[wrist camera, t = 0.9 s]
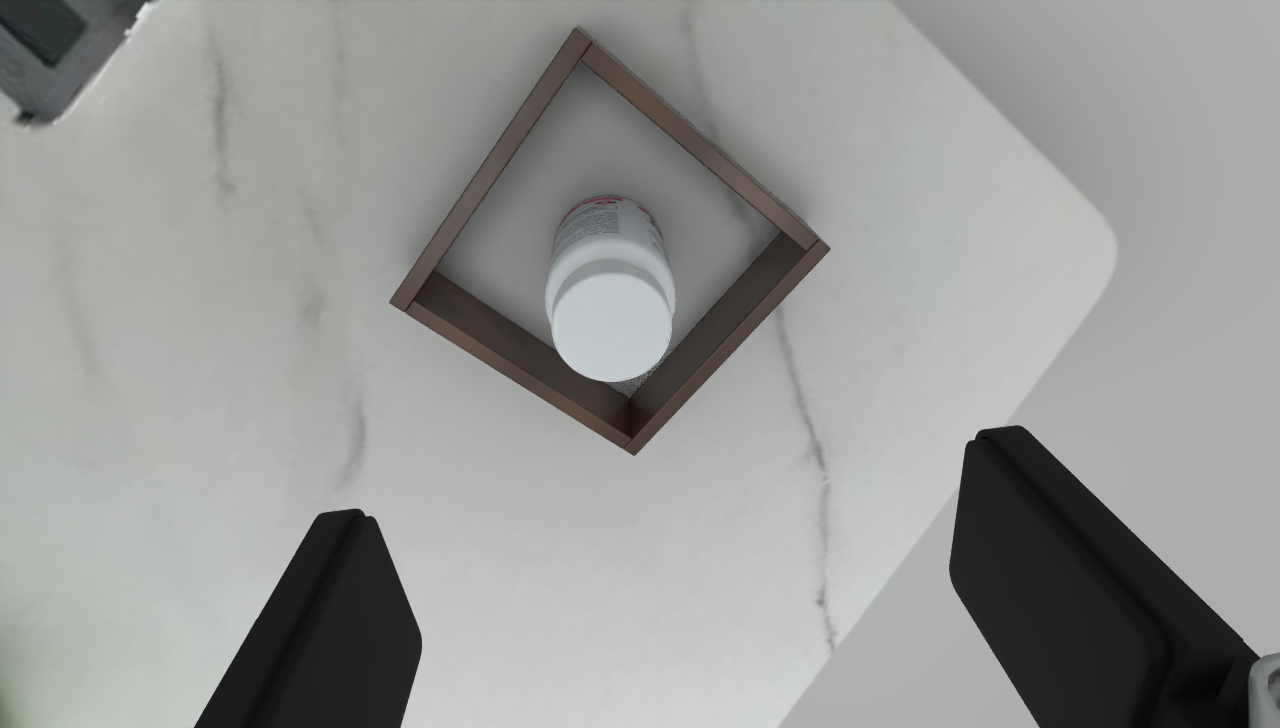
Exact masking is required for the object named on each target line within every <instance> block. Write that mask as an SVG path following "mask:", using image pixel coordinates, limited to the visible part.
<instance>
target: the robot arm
mask: <svg viewBox="0 0 1280 728" xmlns="http://www.w3.org/2000/svg"><path fill="white" fill-rule="evenodd" d="M949 572H950V578H951V581H952V584H953V587H954V589H955V591H956V593H957V594H958V596H959V597H960V599H961V601H962V602H963V604H964V606H965V607H966V609H967V610H968V612H969V614H970V615H971V617H972V618H973V620H974V622H975V623H976V625H977V627H978V628H979V630H980V632H981V633H982V635H983V636H984V638H985V639H986V641H987V643H988V644H989V646H990V648H991V649H992V651H993V653H994V654H995V656H996V657H997V659H998V661H999V662H1000V664H1001V666H1002V667H1003V669H1004V671H1005V672H1006V674H1007V675H1008V677H1009V679H1010V680H1011V682H1012V683H1013V685H1014V687H1015V688H1016V690H1017V692H1018V693H1019V695H1020V696H1021V698H1022V700H1023V701H1024V703H1025V705H1026V706H1027V708H1028V709H1029V711H1030V713H1031V714H1032V716H1033V718H1034V719H1035V721H1036V722H1037V724H1038V726H1039V727H1040V728H1280V653H1276V654H1271V655H1266V656H1263V657H1262V658H1260V657H1259V656H1258V655H1257V654H1256V653H1255V652H1254V651H1253V650H1252V649H1250V647H1249V646H1248V645H1246V643H1244V642H1243V639H1242V638H1241V637H1240V636H1239V635H1238V634H1237V633H1236V632H1235V631H1234V630H1233V629H1232V628H1231V627H1230V626H1229V625H1228V624H1227V623H1226V622H1225V621H1223V619H1222V618H1221V617H1220V616H1218V614H1217V613H1215V612H1214V611H1213V610H1212V609H1211V608H1210V607H1209V606H1208V605H1207V604H1206V603H1205V602H1204V601H1203V600H1202V599H1201V598H1200V597H1199V596H1198V595H1197V594H1196V593H1195V592H1194V591H1193V590H1192V589H1191V588H1190V587H1189V586H1188V585H1187V584H1185V583H1184V582H1183V581H1182V580H1181V579H1180V578H1179V577H1178V576H1177V575H1176V574H1175V573H1174V572H1173V571H1172V570H1171V569H1170V568H1169V567H1168V566H1167V565H1166V564H1165V563H1164V562H1163V561H1162V560H1161V559H1160V558H1159V557H1158V556H1156V555H1155V554H1154V552H1152V551H1151V550H1150V549H1149V548H1148V547H1147V546H1146V545H1145V544H1144V543H1143V542H1142V541H1141V540H1140V539H1139V538H1138V537H1137V536H1136V535H1135V534H1134V533H1133V532H1131V530H1130V529H1128V527H1127V526H1126V525H1125V524H1124V523H1123V522H1121V521H1120V520H1119V519H1118V518H1117V517H1116V516H1115V515H1114V514H1113V513H1112V512H1111V511H1110V510H1109V509H1108V508H1107V507H1106V506H1105V505H1104V504H1103V503H1102V502H1101V501H1100V500H1099V499H1098V498H1097V497H1096V496H1095V495H1094V494H1092V493H1091V491H1089V490H1088V489H1087V488H1086V487H1085V486H1084V485H1083V484H1082V483H1081V482H1080V481H1079V480H1078V479H1077V478H1076V477H1075V476H1074V475H1073V474H1072V473H1071V472H1070V471H1069V470H1068V469H1067V468H1066V467H1065V466H1064V465H1063V464H1061V463H1060V461H1058V460H1057V459H1056V458H1055V457H1054V456H1053V455H1052V454H1051V453H1050V452H1049V451H1048V450H1047V449H1046V448H1045V447H1044V446H1043V445H1042V444H1041V443H1040V442H1039V441H1038V440H1037V439H1036V438H1035V437H1034V436H1033V435H1032V434H1031V433H1029V431H1028V430H1026V429H1025V428H1024V427H1022V426H1018V425H1016V426H1007V427H999V428H992V429H984V430H981V431H979V432H978V433H977V435H976V438H975V440H971V441H969V442H968V443H967V444H966V448H965V454H964V461H963V469H962V476H961V483H960V491H959V498H958V506H957V513H956V521H955V528H954V535H953V543H952V550H951V558H950V564H949ZM421 652H422V638H421V633H420V630H419V627H418V625H417V622H416V620H415V617H414V615H413V612H412V609H411V607H410V604H409V602H408V599H407V597H406V594H405V592H404V589H403V587H402V584H401V582H400V579H399V576H398V574H397V571H396V569H395V566H394V564H393V561H392V559H391V556H390V554H389V551H388V549H387V546H386V544H385V541H384V538H383V536H382V533H381V531H380V528H379V526H378V523H377V521H376V519H375V518H374V517H372V516H367V517H366V516H365V514H364V512H362V511H361V510H360V509H348V510H340V511H332V512H325V513H321V514H319V515H318V516H317V517H316V519H315V520H314V522H313V524H312V525H311V527H310V529H309V530H308V532H307V534H306V536H305V537H304V539H303V541H302V543H301V544H300V546H299V548H298V549H297V551H296V553H295V555H294V556H293V558H292V560H291V562H290V563H289V565H288V567H287V569H286V570H285V572H284V574H283V575H282V577H281V579H280V581H279V582H278V584H277V586H276V588H275V589H274V591H273V593H272V594H271V596H270V598H269V600H268V601H267V603H266V605H265V607H264V608H263V610H262V612H261V614H260V615H259V617H258V618H257V619H256V621H255V623H254V625H253V626H252V628H251V630H250V632H249V633H248V635H247V637H246V638H245V640H244V642H243V644H242V645H241V647H240V649H239V651H238V652H237V654H236V656H235V657H234V659H233V661H232V663H231V664H230V666H229V668H228V670H227V671H226V673H225V675H224V676H223V678H222V680H221V682H220V683H219V685H218V687H217V689H216V690H215V692H214V694H213V695H212V697H211V699H210V701H209V702H208V704H207V706H206V708H205V709H204V711H203V713H202V714H201V716H200V718H199V720H198V721H197V723H196V725H195V727H194V728H400V727H401V723H402V720H403V716H404V713H405V710H406V706H407V703H408V699H409V696H410V692H411V689H412V685H413V682H414V678H415V675H416V671H417V668H418V664H419V661H420V657H421Z"/></svg>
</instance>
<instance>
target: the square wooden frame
mask: <svg viewBox="0 0 1280 728" xmlns="http://www.w3.org/2000/svg"><path fill="white" fill-rule="evenodd" d="M592 39H593V38H592V37H591V36H590V35H589V34H588V33H587V32H586V31H584V30H583V29H582V28H581V27H580V26H578V27H576V28H574V29H573V31H572V32H571V34H570V35H569V37H568V38H567V40H566V41H565V43H564V44H563V46H562V47H561V49H560V50H559V52H558V53H557V55H556V56H555V57H554V59H553V60H552V62H551V63H550V65H549V66H548V68H547V69H546V71H545V72H544V74H543V75H542V77H541V78H540V80H539V81H538V83H537V84H536V86H535V87H534V89H533V90H532V91H531V93H530V94H529V96H528V97H527V99H526V100H525V102H524V103H523V105H522V106H521V108H520V109H519V111H518V112H517V114H516V115H515V117H514V118H513V120H512V121H511V123H510V124H509V125H508V127H507V128H506V130H505V131H504V133H503V134H502V136H501V137H500V139H499V140H498V142H497V143H496V145H495V146H494V148H493V149H492V151H491V152H490V154H489V155H488V156H487V158H486V159H485V161H484V162H483V164H482V165H481V167H480V168H479V170H478V171H477V173H476V174H475V176H474V177H473V179H472V180H471V182H470V183H469V185H468V186H467V188H466V189H465V190H464V192H463V193H462V195H461V196H460V198H459V199H458V201H457V202H456V204H455V205H454V207H453V208H452V210H451V211H450V213H449V214H448V216H447V217H446V219H445V220H444V222H443V223H442V224H441V226H440V227H439V229H438V230H437V232H436V233H435V235H434V236H433V238H432V239H431V241H430V242H429V244H428V245H427V247H426V248H425V250H424V251H423V253H422V254H421V256H420V257H419V258H418V260H417V261H416V263H415V264H414V266H413V267H412V269H411V270H410V272H409V273H408V275H407V276H406V278H405V279H404V281H403V282H402V284H401V285H400V287H399V288H398V289H397V291H396V292H395V294H394V295H393V297H392V298H391V300H390V301H389V303H390V304H392V305H393V306H395V307H396V308H398V309H400V310H401V311H403V312H405V313H406V314H408V315H409V316H411V317H412V318H414V319H416V320H417V321H419V322H420V323H422V324H424V325H425V326H427V327H428V328H430V329H432V330H433V331H435V332H436V333H438V334H440V335H441V336H443V337H444V338H446V339H448V340H449V341H451V342H452V343H454V344H456V345H457V346H459V347H460V348H462V349H464V350H465V351H467V352H468V353H470V354H472V355H473V356H475V357H476V358H478V359H480V360H481V361H483V362H484V363H486V364H488V365H489V366H491V367H492V368H494V369H496V370H497V371H499V372H500V373H502V374H504V375H505V376H507V377H508V378H510V379H512V380H513V381H515V382H516V383H518V384H520V385H521V386H523V387H524V388H526V389H528V390H529V391H531V392H532V393H534V394H536V395H537V396H539V397H540V398H542V399H544V400H545V401H547V402H548V403H550V404H552V405H553V406H555V407H556V408H558V409H559V410H561V411H563V412H564V413H566V414H567V415H569V416H571V417H572V418H574V419H575V420H577V421H579V422H580V423H582V424H583V425H585V426H587V427H588V428H590V429H591V430H593V431H595V432H596V433H598V434H599V435H601V436H603V437H604V438H606V439H607V440H609V441H611V442H612V443H614V444H615V445H617V446H619V447H620V448H622V449H624V450H625V451H627V452H629V453H630V454H632V455H633V456H635V455H636V454H637V453H638V452H639V451H640V450H641V449H642V448H643V447H644V446H645V445H646V444H647V443H648V442H649V440H650V439H651V438H652V437H653V436H654V435H655V434H656V433H657V432H658V431H659V430H660V429H661V428H662V427H663V426H664V425H665V424H666V423H667V421H668V420H669V419H670V418H671V417H672V416H673V415H674V414H675V413H676V412H677V411H678V410H679V409H680V408H681V407H682V406H683V405H684V404H685V403H686V401H687V400H688V399H689V398H690V397H691V396H692V395H693V394H694V393H695V392H696V391H697V390H698V389H699V388H700V387H701V386H702V385H703V384H704V383H705V381H706V380H707V379H708V378H709V377H710V376H711V375H712V374H713V373H714V372H715V371H716V370H717V369H718V368H719V367H720V366H721V365H722V364H723V362H724V361H725V360H726V359H727V358H728V357H729V356H730V355H731V354H732V353H733V352H734V351H735V350H736V349H737V348H738V347H739V346H740V345H741V344H742V342H743V341H744V340H745V339H746V338H747V337H748V336H749V335H750V334H751V333H752V332H753V331H754V330H755V329H756V328H757V327H758V326H759V325H760V323H761V322H762V321H763V320H764V319H765V318H766V317H767V316H768V315H769V314H770V313H771V312H772V311H773V310H774V309H775V308H776V307H777V306H778V305H779V303H780V302H781V301H782V300H783V299H784V298H785V297H786V296H787V295H788V294H789V293H790V292H791V291H792V290H793V289H794V288H795V287H796V286H797V285H798V283H799V282H800V281H801V280H802V279H803V278H804V277H805V276H806V275H807V274H808V273H809V272H810V271H811V270H812V269H813V268H814V267H815V266H816V264H817V263H818V262H819V261H820V260H821V259H822V258H823V257H824V256H825V255H826V254H827V253H828V252H829V251H830V247H829V246H828V245H827V244H826V243H825V242H824V241H823V240H822V239H821V238H820V237H819V236H818V235H817V234H816V233H815V232H814V231H813V230H812V229H811V228H810V227H809V226H808V225H807V224H806V223H805V222H804V221H803V220H802V219H801V218H799V217H798V216H797V215H796V214H795V213H794V212H793V211H791V210H790V209H789V208H788V207H787V206H786V205H785V204H783V203H782V202H781V201H780V200H779V199H778V198H776V197H775V196H774V195H773V194H772V193H771V192H770V191H768V190H767V189H766V188H765V187H764V186H763V185H762V184H760V183H759V182H758V181H757V180H756V179H755V178H753V177H752V176H751V175H750V174H749V173H748V172H747V171H745V170H744V169H743V168H742V167H741V166H740V165H739V164H737V163H736V162H735V161H734V160H733V159H732V158H730V157H729V156H728V155H727V154H726V153H725V152H724V151H722V150H721V149H720V148H719V147H718V146H717V145H716V144H714V143H713V142H712V141H711V140H710V139H709V138H707V137H706V136H705V135H704V134H703V133H702V132H701V131H699V130H698V129H697V128H696V127H695V126H694V125H693V124H691V123H690V122H689V121H688V120H687V119H686V118H684V117H683V116H682V115H681V114H680V113H679V112H678V111H676V110H675V109H674V108H673V107H672V106H671V105H670V104H668V103H667V102H666V101H665V100H664V99H663V98H661V97H660V96H659V95H658V94H657V93H656V92H655V91H653V90H652V89H651V88H650V87H649V86H648V85H646V84H645V83H644V82H643V81H642V80H641V79H640V78H638V77H637V76H636V75H635V74H634V73H633V72H632V71H630V70H629V69H628V68H627V67H626V66H625V65H623V64H622V63H621V62H620V61H619V60H618V59H617V58H615V57H614V56H613V55H612V54H611V53H610V52H609V51H607V50H606V49H605V48H604V47H603V46H602V45H600V44H599V43H598V42H597V41H596V40H595V39H593V40H592ZM580 58H581V61H582V62H583V63H584V64H585V65H587V66H588V67H589V68H590V69H591V70H593V71H594V72H595V73H596V74H597V75H598V76H600V77H601V78H602V79H603V80H604V81H606V82H607V83H608V84H609V85H610V86H611V87H613V88H614V89H615V90H616V91H617V92H618V93H620V94H621V95H622V96H623V97H624V98H626V99H627V100H628V101H629V102H630V103H631V104H633V105H634V106H635V107H636V108H637V109H639V110H640V111H641V112H642V113H643V114H644V115H646V116H647V117H648V118H649V119H650V120H651V121H653V122H654V123H655V124H656V125H657V126H659V127H660V128H661V129H662V130H663V131H664V132H666V133H667V134H668V135H669V136H670V137H671V138H673V139H674V140H675V141H676V142H677V143H679V144H680V145H681V146H682V147H683V148H684V149H686V150H687V151H688V152H689V153H690V154H692V155H693V156H694V157H695V158H696V159H697V160H699V161H700V162H701V163H702V164H703V165H704V166H706V167H707V168H708V169H709V170H710V171H712V172H713V173H714V174H715V175H716V176H717V177H719V178H720V179H721V180H722V181H723V182H724V183H726V184H727V185H728V186H729V187H730V188H732V189H733V190H734V191H735V192H736V193H737V194H739V195H740V196H741V197H742V198H743V199H745V200H746V201H747V202H748V203H749V204H750V205H752V206H753V207H754V208H755V209H756V210H757V211H759V212H760V213H761V214H762V215H763V216H765V217H766V218H767V219H768V220H769V221H770V222H772V223H773V224H774V225H775V226H776V227H777V228H779V229H780V230H781V231H782V232H781V233H780V234H779V235H778V236H777V237H776V238H775V239H774V241H773V242H772V243H771V244H770V245H769V246H768V247H767V248H766V249H765V250H764V252H763V253H762V254H761V255H760V256H759V257H758V258H757V259H756V260H755V262H754V263H753V264H752V265H751V266H750V267H749V268H748V269H747V270H746V271H745V273H744V274H743V275H742V276H741V277H740V278H739V279H738V280H737V281H736V283H735V284H734V285H733V286H732V287H731V288H730V289H729V290H728V291H727V292H726V294H725V295H724V296H723V297H722V298H721V299H720V300H719V301H718V302H717V303H716V305H715V306H714V307H713V308H712V309H711V310H710V311H709V312H708V313H707V315H706V316H705V317H704V318H703V319H702V320H701V321H700V322H699V323H698V324H697V326H696V327H695V328H694V329H693V330H692V331H691V332H690V333H689V334H688V336H687V337H686V338H685V339H684V340H683V341H682V342H681V343H680V344H679V345H678V347H677V348H676V349H675V350H674V351H673V352H672V353H671V354H670V355H669V357H668V358H667V359H666V360H665V361H664V362H663V363H662V364H661V365H660V366H659V368H658V369H657V370H656V371H655V372H654V373H653V374H652V375H651V376H650V378H649V379H648V380H647V381H646V382H645V383H644V384H643V385H642V386H641V387H640V389H639V390H638V391H637V392H636V393H635V394H634V395H633V396H632V397H631V398H630V400H629V399H628V398H626V397H625V396H623V395H622V394H620V393H619V392H617V391H616V390H614V389H613V388H611V387H610V386H608V385H606V384H605V383H603V382H602V381H598V380H594V379H590V378H588V377H585V376H583V375H581V374H579V373H578V372H576V371H575V370H573V369H572V368H571V367H570V366H569V365H568V364H567V363H566V362H565V361H564V360H563V358H562V357H561V356H560V354H559V353H558V352H556V351H555V350H553V349H552V348H550V347H549V346H547V345H546V344H544V343H543V342H541V341H540V340H538V339H537V338H535V337H534V336H532V335H531V334H529V333H528V332H526V331H525V330H523V329H522V328H520V327H519V326H517V325H516V324H514V323H512V322H511V321H509V320H508V319H506V318H505V317H503V316H502V315H500V314H499V313H497V312H496V311H494V310H493V309H491V308H490V307H488V306H487V305H485V304H484V303H482V302H481V301H479V300H478V299H476V298H475V297H473V296H472V295H470V294H469V293H467V292H465V291H464V290H462V289H461V288H459V287H458V286H456V285H455V284H453V283H452V282H450V281H449V280H447V279H446V278H444V277H443V276H441V275H440V274H438V273H437V272H435V271H434V269H435V268H436V266H437V265H438V264H439V262H440V261H441V259H442V258H443V256H444V255H445V253H446V252H447V251H448V249H449V248H450V246H451V245H452V243H453V242H454V240H455V239H456V238H457V236H458V235H459V233H460V232H461V230H462V229H463V227H464V226H465V225H466V223H467V222H468V220H469V219H470V217H471V216H472V214H473V213H474V212H475V210H476V209H477V207H478V206H479V204H480V203H481V201H482V200H483V199H484V197H485V196H486V194H487V193H488V191H489V190H490V188H491V187H492V186H493V184H494V183H495V181H496V180H497V178H498V177H499V175H500V174H501V173H502V171H503V170H504V168H505V167H506V165H507V164H508V162H509V161H510V160H511V158H512V157H513V155H514V154H515V152H516V151H517V149H518V148H519V147H520V145H521V144H522V142H523V141H524V139H525V138H526V136H527V135H528V134H529V132H530V131H531V129H532V128H533V126H534V125H535V123H536V122H537V121H538V119H539V118H540V116H541V115H542V113H543V112H544V110H545V109H546V108H547V106H548V105H549V103H550V102H551V100H552V99H553V97H554V96H555V95H556V93H557V92H558V90H559V89H560V87H561V86H562V84H563V83H564V82H565V80H566V79H567V77H568V76H569V74H570V73H571V71H572V70H573V69H574V67H575V66H576V64H577V63H578V61H579V60H580Z"/></svg>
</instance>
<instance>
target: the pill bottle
mask: <svg viewBox="0 0 1280 728" xmlns="http://www.w3.org/2000/svg"><path fill="white" fill-rule="evenodd" d="M675 305H676V289H675V283H674V279H673V275H672V271H671V268H670V264H669V260H668V257H667V253H666V249H665V246H664V242H663V238H662V235H661V232H660V230H659V228H658V226H657V224H656V222H655V221H654V219H653V218H652V217H651V215H650V214H649V213H648V212H647V211H646V210H645V209H643V208H642V207H641V206H639V205H638V204H636V203H634V202H632V201H630V200H628V199H625V198H621V197H615V196H602V197H596V198H592V199H589V200H587V201H584V202H582V203H581V204H579V205H577V206H576V207H575V208H573V209H572V210H571V211H570V212H569V213H568V214H567V215H566V217H565V218H564V219H563V221H562V222H561V224H560V226H559V228H558V230H557V233H556V236H555V240H554V244H553V249H552V255H551V259H550V265H549V271H548V276H547V281H546V287H545V307H546V312H547V316H548V319H549V321H550V324H551V331H552V337H553V341H554V344H555V347H556V349H557V351H558V353H559V354H560V356H561V357H562V358H563V360H564V361H565V362H566V363H567V364H568V365H569V366H570V367H571V368H572V369H573V370H575V371H576V372H578V373H579V374H581V375H583V376H585V377H588V378H590V379H594V380H598V381H604V382H618V381H625V380H629V379H632V378H635V377H637V376H640V375H642V374H643V373H645V372H647V371H648V370H650V369H651V368H652V367H653V366H654V365H655V364H656V363H657V362H658V361H659V360H660V359H661V358H662V356H663V355H664V353H665V351H666V350H667V347H668V345H669V342H670V339H671V334H672V318H673V315H674V311H675Z"/></svg>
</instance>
